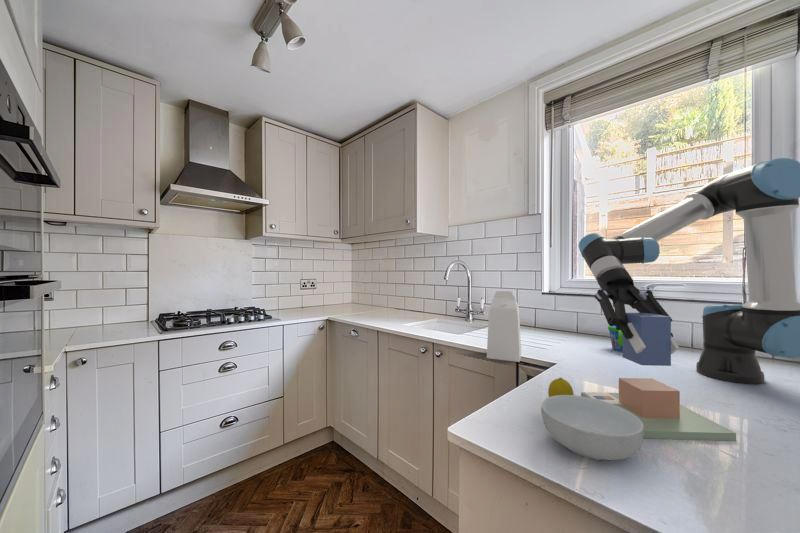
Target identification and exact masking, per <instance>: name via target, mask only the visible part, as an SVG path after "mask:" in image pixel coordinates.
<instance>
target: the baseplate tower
mask: <svg viewBox="0 0 800 533" xmlns="http://www.w3.org/2000/svg"><path fill="white" fill-rule="evenodd" d="M580 394H581V395H580V396H583V397H589V398H593V399H598V400H601V401H605V402H608V403H611V404H613V405H616V406H619V407H621V408H623V409H625V410H627V411H629V412H631V413H632V414H634V415H635V416H637V417H638V418H639V419H640V420H641V421H642V423H643V426H644V435H643V439H656V440H657V439H659V440H696V441H698V440H699V441H701V440H702V441H703V440H704V441H733V442H734V441H737V432H735V431H733V430H731V429H729V428H727V427H726V426H723V425H721V424H719V423H718V422H715V421H713V420H712V419H710V418H708V417H705V416H703V415H701V414H699V413H697V412H696V411H693V410H691V409H689V408H688V407H685V406H684V405H682V404H681V403H680V402H681V401H680V398H681V397H680V395H681V394H680V390H679V389H678V390H677V389H676V388H674V387H672V386H670V385H667V384H665V383H663V382H661V381H659V380H657V379H655V378H653V377H651V378H648V377H647V378H646V377H645V378H644V377H641V378H639V377H638V378H637V377H619V378H618V392H589V391H585V392H584V391H582V392H580Z"/></svg>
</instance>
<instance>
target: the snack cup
mask: <svg viewBox="0 0 800 533" xmlns="http://www.w3.org/2000/svg"><path fill="white" fill-rule="evenodd" d="M607 329H608V331H609V337H610V341H611V342H610V343H611V347H612V350H614V351H616V350H617V352H620V351H621V353H623V333H622V332H621V330H617V329H616V326H610V325H609V324H608V325H607Z"/></svg>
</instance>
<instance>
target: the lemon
mask: <svg viewBox="0 0 800 533" xmlns="http://www.w3.org/2000/svg"><path fill="white" fill-rule="evenodd" d="M557 395H575V392H574V390H573V387H572V385H571V384H570V382H568V381H567V380H565V379H564V378H563V377H558V378H555V379H553V380H552V381H551V382H550V383H549V385H548V397H551V396H557Z"/></svg>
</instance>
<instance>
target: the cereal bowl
mask: <svg viewBox="0 0 800 533" xmlns="http://www.w3.org/2000/svg"><path fill="white" fill-rule="evenodd" d="M540 410H541V419H542V422H543V426H544V427H545V428H546V431H547V432H548V434H550V436H551V437H552V439H554V440H555V441H556V442H558V443H559V444H560V445H562V446H563V447H565V448H567V449H569V450H571V451H572V452H574V453H575V454H577V455H579V456H580V457H584V458H587V459H591V460H596V461H618V460H619V461H620V460H624V459H628V458H631V457H633V456H634V455H635V454H636V453H637V452H639V451H640V449H641V447H642V444H643V442H644V438H643V435H644V426H643V423H642V421H641V420H640V419H639V418H638V417H637V416H635V415H634V414H632V413H631V412H629V411H627V410H625V409H623V408H621V407H619V406H616V405H613V404H611V403H608V402H605V401H601V400H598V399H593V398H589V397H583V396H581V395H575V394H574V395H557V396H551V397H549V396H548V397H547V398H545V399H544V400H543V401H542V402H541V408H540Z"/></svg>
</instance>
